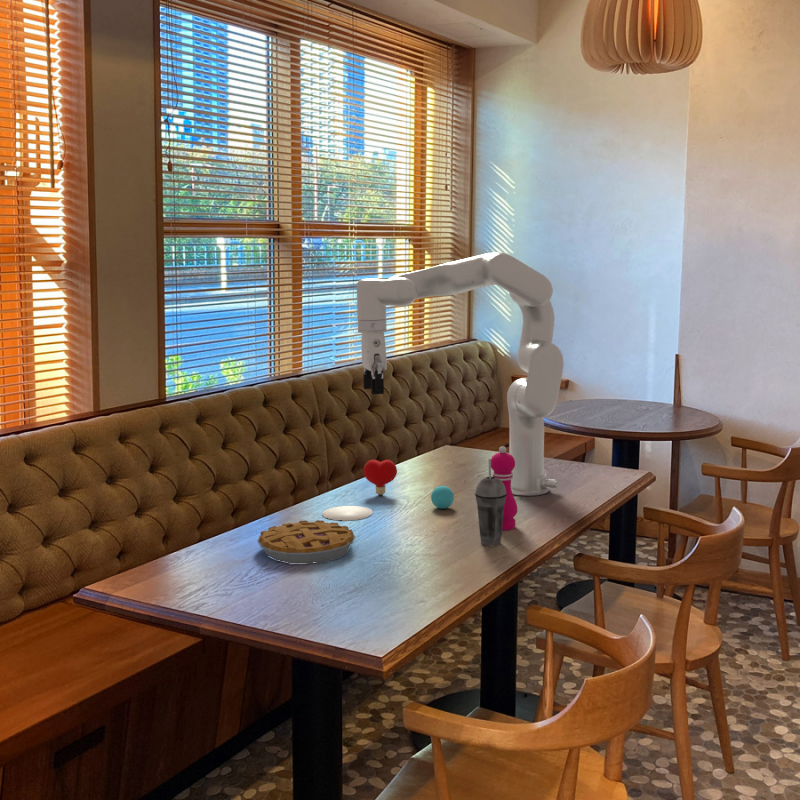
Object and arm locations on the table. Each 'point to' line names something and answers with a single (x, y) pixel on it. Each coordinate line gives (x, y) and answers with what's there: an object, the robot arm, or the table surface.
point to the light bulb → (380, 474)
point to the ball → (442, 497)
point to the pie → (306, 541)
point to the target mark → (347, 513)
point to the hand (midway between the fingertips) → (373, 391)
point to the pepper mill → (505, 484)
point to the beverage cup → (490, 508)
